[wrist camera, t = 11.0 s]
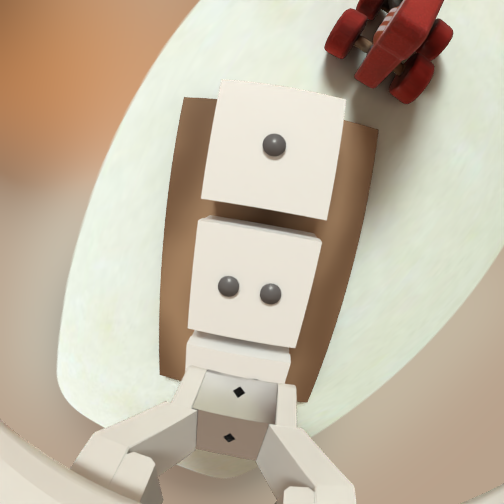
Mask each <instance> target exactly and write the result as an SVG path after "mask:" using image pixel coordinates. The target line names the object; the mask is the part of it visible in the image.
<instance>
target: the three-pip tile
mask: <svg viewBox="0 0 504 504" xmlns="http://www.w3.org/2000/svg"><path fill="white" fill-rule="evenodd" d="M290 364H291V357H290V354H289V347H283V346H276V345H270V344H264V343H258V342H252V341H247V340H241V339H236V338H231V337H226V336H221V335H216V334H211V333H206V332H202V331H197V330H195V331H194V333H193V335H192V336H190V338H189V340H188V342H187V346H186V366H185V372H186V370H187V368H188V367H189V366H190V365H193V366H197V367H200V368H204V369H207V370H208V369H209V370H213V371H217V372H221V373H225V374H230V375H234V376H238V377H243V378H249V379H255V380H260V381H267V382H273V383H282V384H285V381H286V377H287V374H288V371H289V368H290Z"/></svg>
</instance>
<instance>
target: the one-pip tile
mask: <svg viewBox="0 0 504 504" xmlns="http://www.w3.org/2000/svg"><path fill="white" fill-rule="evenodd" d="M345 106H346V99H342V98H338V97H334V96H330V95H325V94H321V93H316V92H311V91H306V90H301V89H296V88H290V87H284V86H278V85H271V84H264V83H256V82H247V81H237V80H224V79H221V84H220V89H219V94H218V99H217V104H216V109H215V115H214V120H213V125H212V131H211V137H210V143H209V149H208V155H207V161H206V167H205V174H204V181H203V187H202V194H201V199H207V200H213V201H220V202H226V203H233V204H239V205H245V206H251V207H257V208H263V209H268V210H274V211H280V212H285V213H290V214H296V215H301V216H306V217H311V218H317V219H322V220H327V216H328V211H329V206H330V201H331V196H332V190H333V185H334V179H335V173H336V168H337V161H338V155H339V149H340V142H341V136H342V129H343V122H344V114H345Z"/></svg>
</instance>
